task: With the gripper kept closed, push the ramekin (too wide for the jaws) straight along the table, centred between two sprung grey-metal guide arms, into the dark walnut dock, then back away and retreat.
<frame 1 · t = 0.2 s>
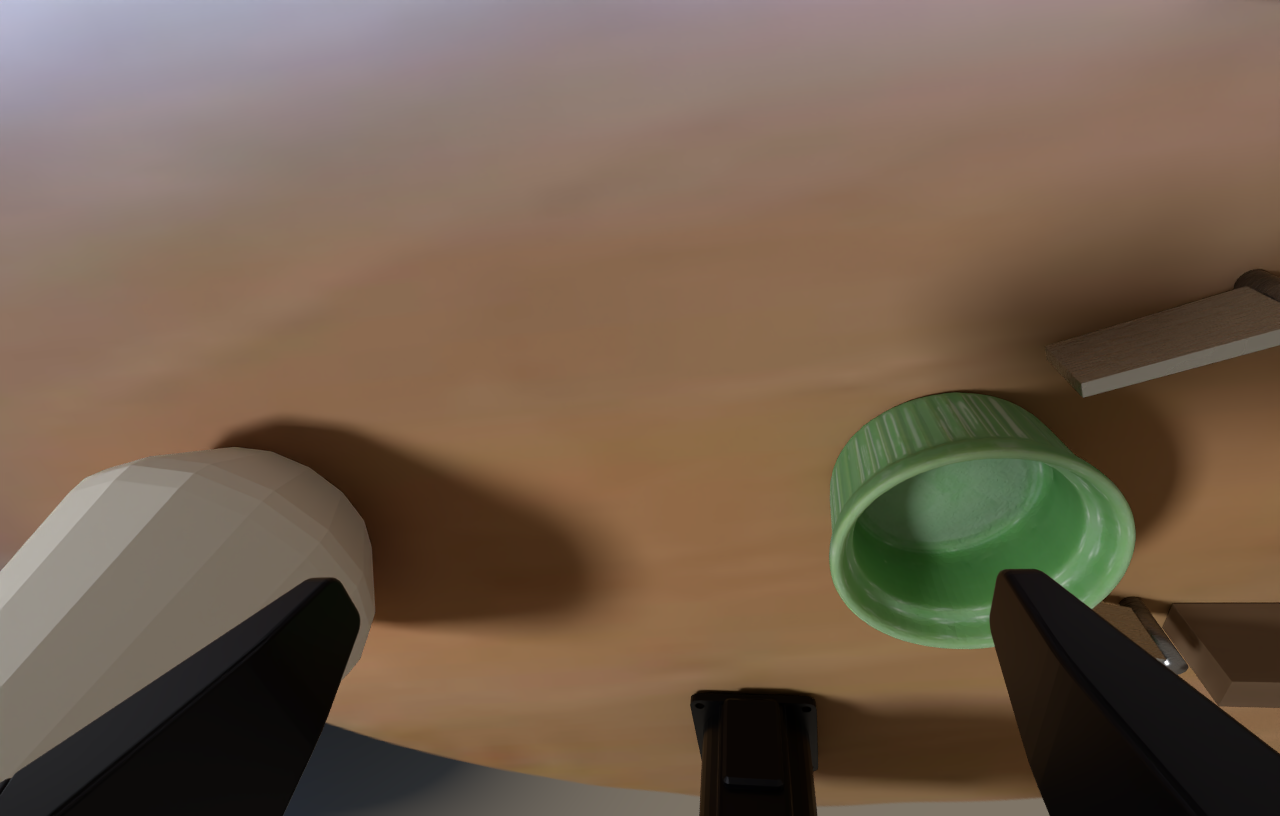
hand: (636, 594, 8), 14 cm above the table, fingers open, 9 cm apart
ramekin: (935, 474, 23), on the table
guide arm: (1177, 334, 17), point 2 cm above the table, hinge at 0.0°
cup: (283, 519, 30), on the table
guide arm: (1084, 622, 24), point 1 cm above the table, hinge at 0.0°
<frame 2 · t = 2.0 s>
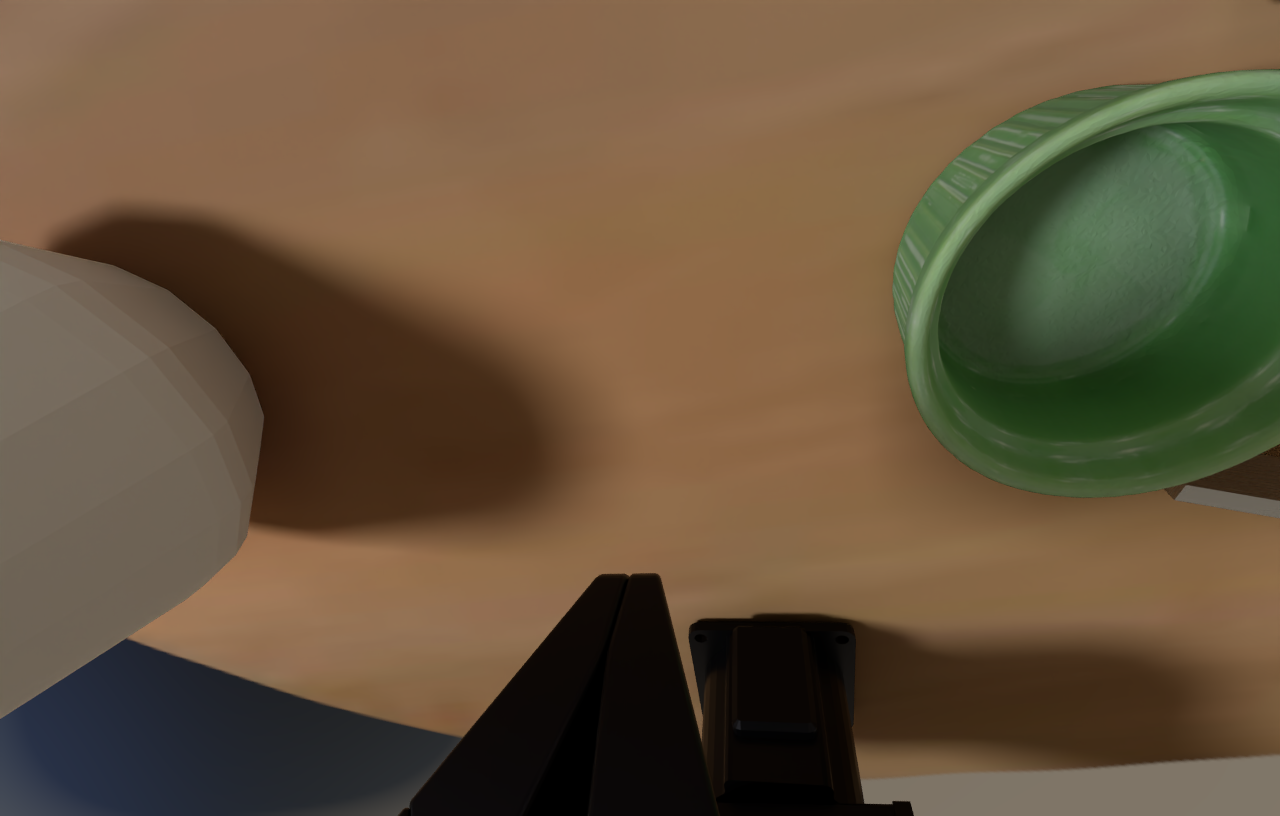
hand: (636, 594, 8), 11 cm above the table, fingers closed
ramekin: (1047, 256, 16), on the table
cup: (148, 379, 22), on the table
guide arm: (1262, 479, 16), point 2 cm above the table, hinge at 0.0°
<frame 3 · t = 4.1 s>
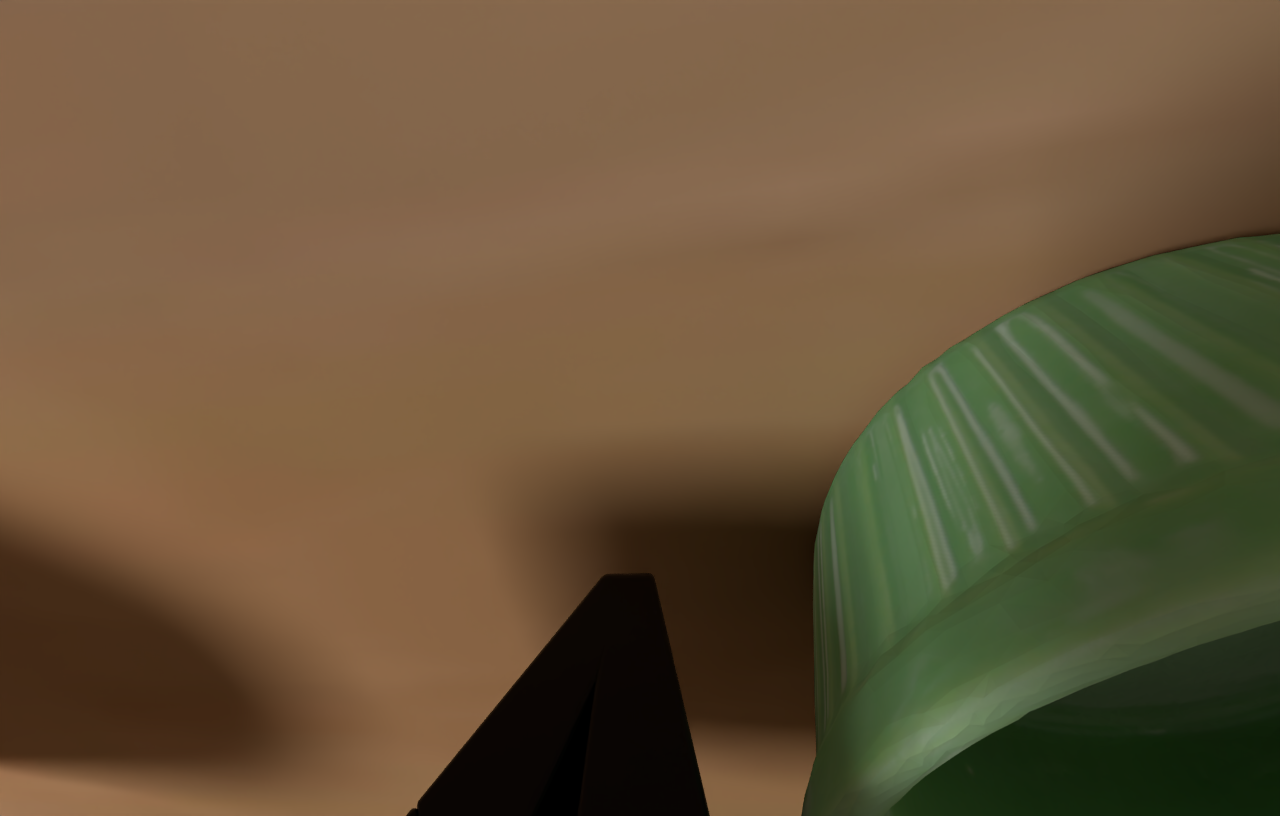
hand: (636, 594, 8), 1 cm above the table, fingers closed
ramekin: (1121, 523, 8), on the table, touching gripper
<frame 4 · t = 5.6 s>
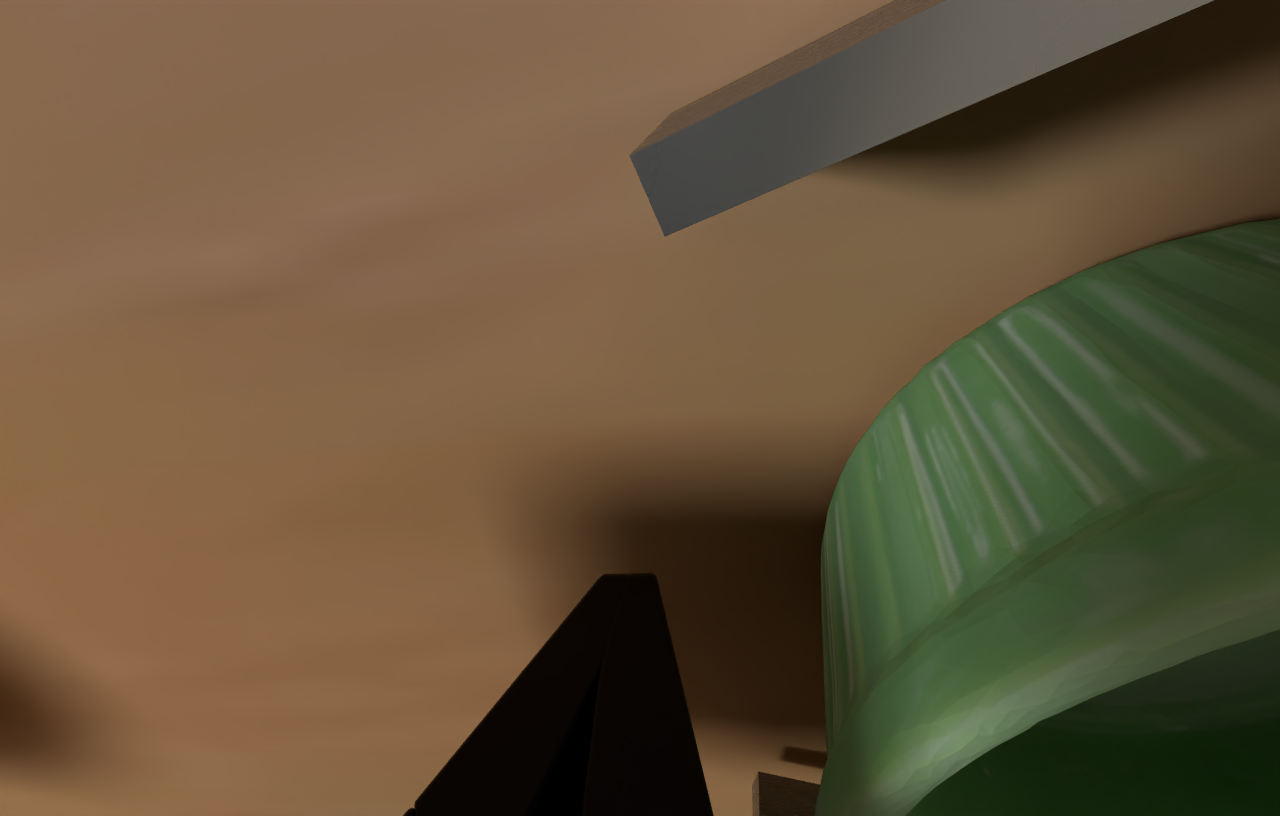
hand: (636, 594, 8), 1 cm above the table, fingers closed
ramekin: (1135, 517, 8), on the table, touching gripper
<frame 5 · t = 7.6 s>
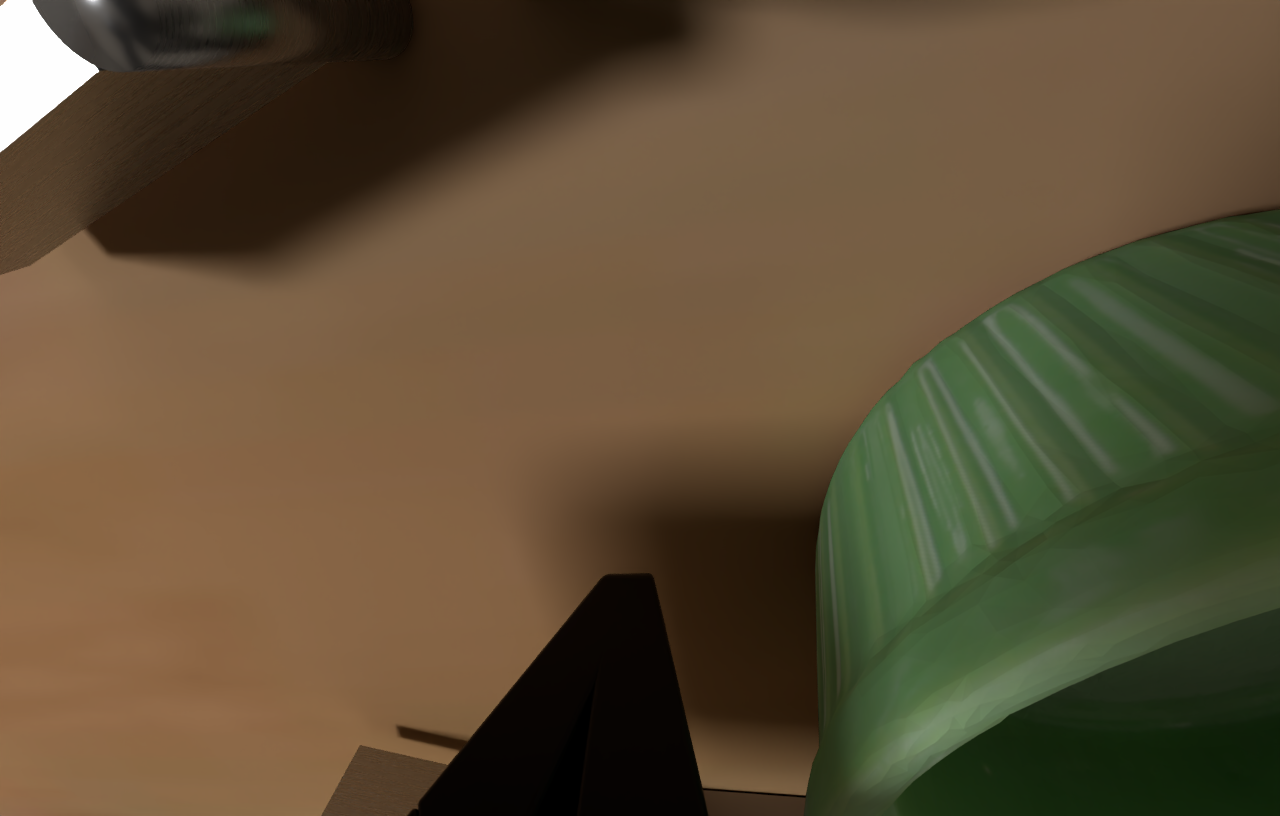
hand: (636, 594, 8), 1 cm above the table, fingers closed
ramekin: (1131, 513, 8), on the table, touching gripper, walnut dock
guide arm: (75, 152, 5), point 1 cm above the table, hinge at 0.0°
walnut dock: (1045, 535, 8), on the table
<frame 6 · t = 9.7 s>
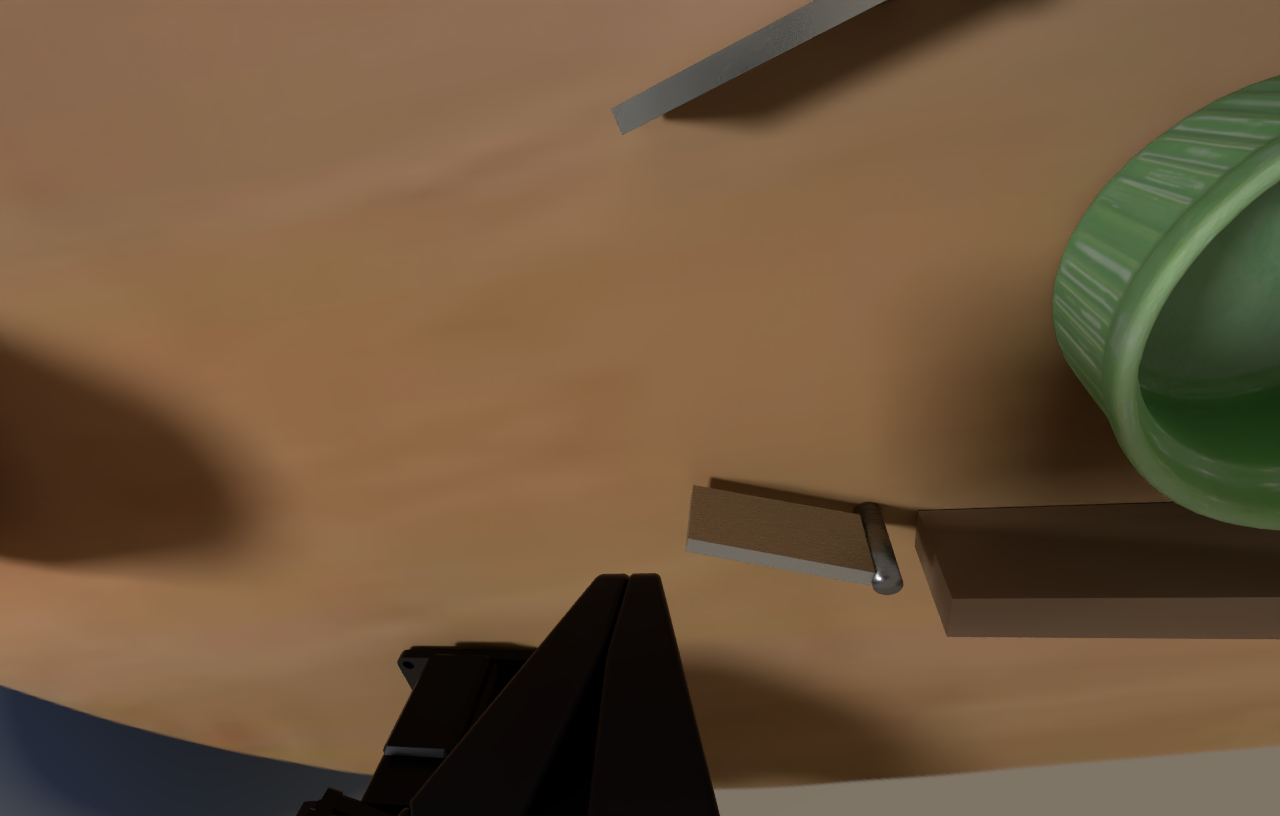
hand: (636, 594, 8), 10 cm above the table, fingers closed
ramekin: (1231, 257, 14), on the table
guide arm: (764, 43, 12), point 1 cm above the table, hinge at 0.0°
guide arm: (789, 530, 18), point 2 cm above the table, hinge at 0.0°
walnut dock: (1188, 274, 14), on the table
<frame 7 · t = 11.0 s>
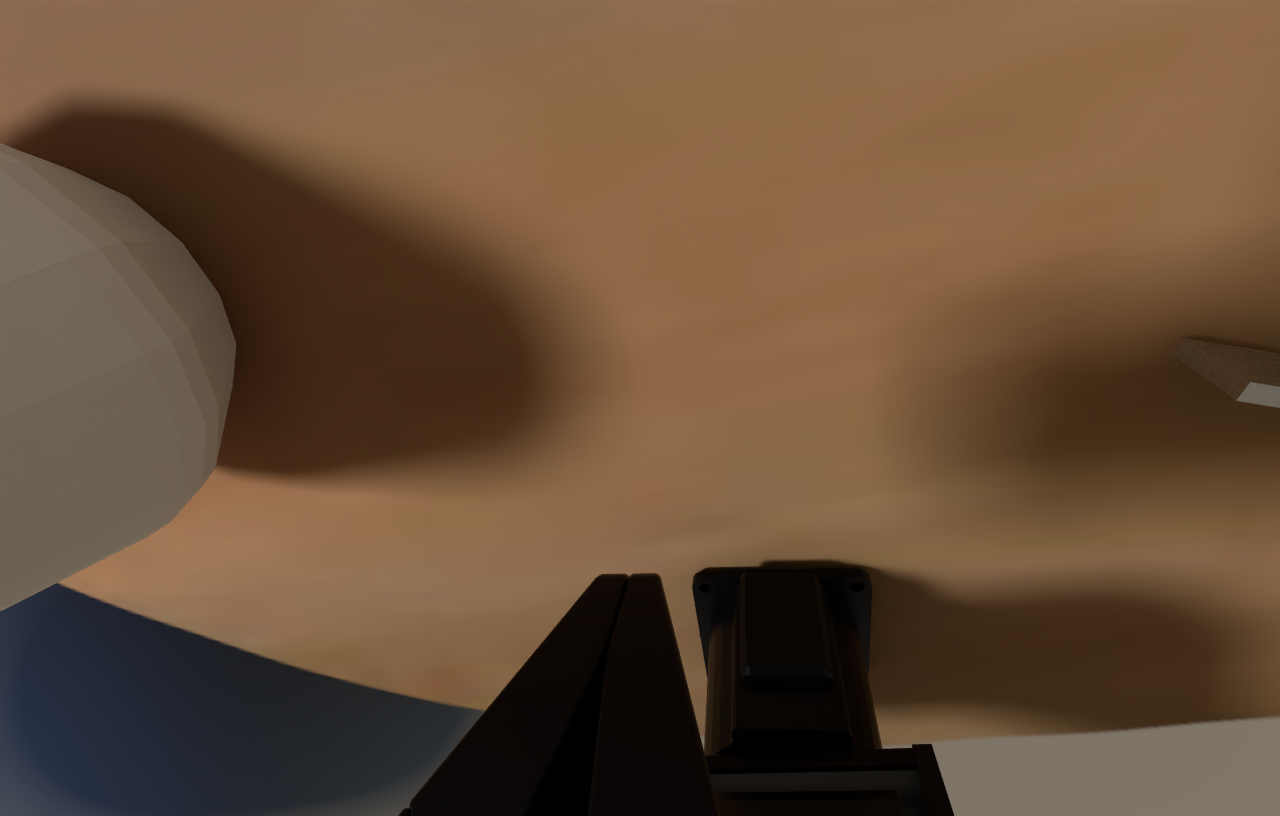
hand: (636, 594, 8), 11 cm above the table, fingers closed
cup: (111, 304, 21), on the table
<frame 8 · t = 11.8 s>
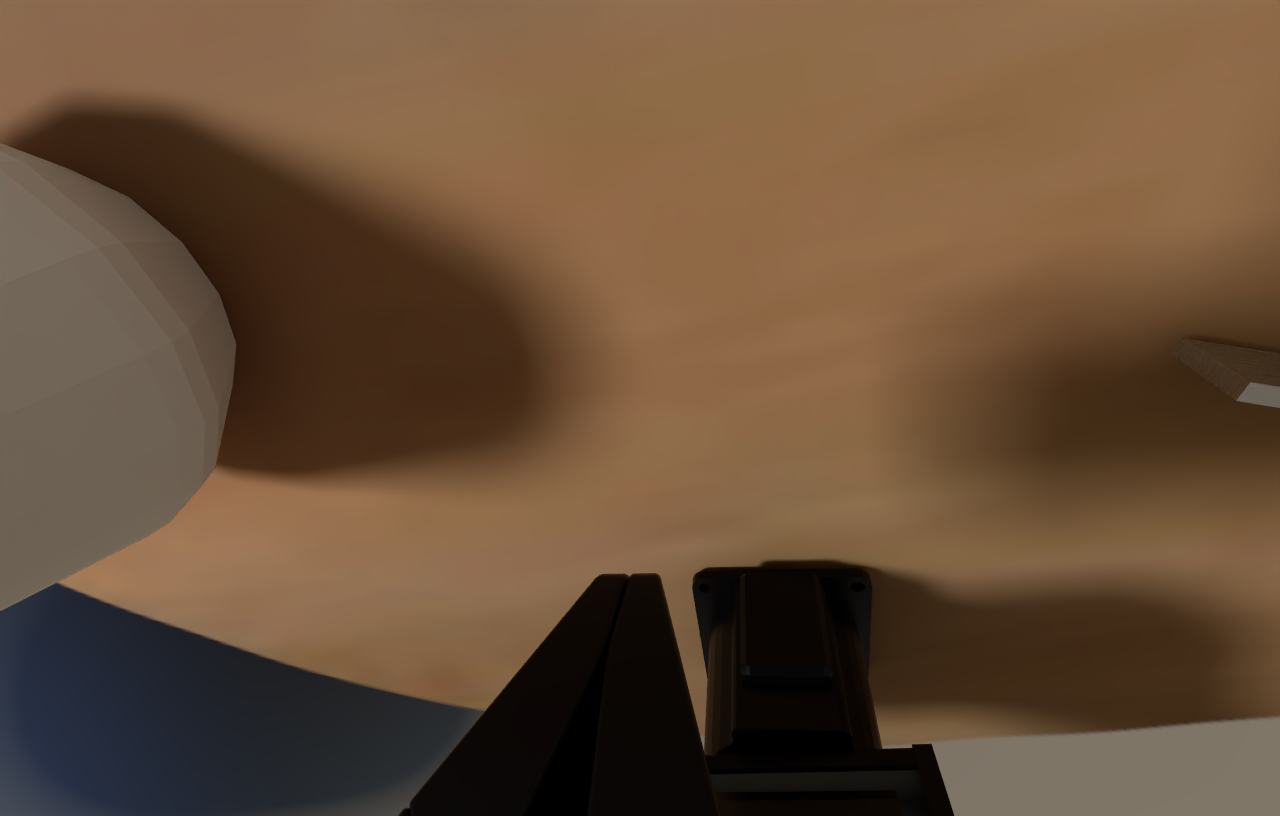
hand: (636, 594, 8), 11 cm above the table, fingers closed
cup: (111, 304, 21), on the table
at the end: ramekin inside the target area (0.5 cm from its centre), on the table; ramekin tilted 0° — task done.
